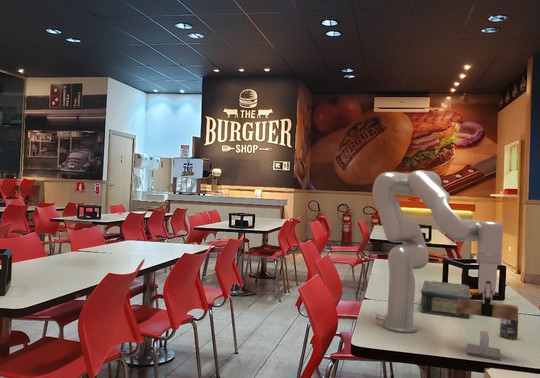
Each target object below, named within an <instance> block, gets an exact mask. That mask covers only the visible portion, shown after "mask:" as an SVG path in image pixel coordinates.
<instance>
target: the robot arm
mask: <svg viewBox="0 0 540 378" xmlns="http://www.w3.org/2000/svg"><path fill="white" fill-rule="evenodd" d="M394 195H405V196H410V195H411V196H412V195H415V196H417V198H418V199H419V200H421V202H422V203H424V205H425V206H426V207H427V208H428V209H429V210H430V212H431V215H432V218H433V220H434V222H435V224H436V225H437V226H438V227H439V228H440V230H441V231H443V232H444V234H446V236H448V238H451V240H453V241H455V242H476V244H477V245H476V260H475V261H476V263H478V264H479V267H478V284H477V285H478V286H477V287H478V289H477V291H478V294H480V295H481V294H482V298H481V299H482V300H481V301H483V303H482V310H481V315H482V316H481V317H486V316H487V318H493V317H492V308H493V304H492V303H493V296H495V295H496V290H497V289H496V286H497V279H498V266H502V261H503V259H502V258H503V257H502V256H503V239H504V235H503V234H504V226H503V224H502V222H499V221H488V220H483V221H482V220H478V219H474V218H473V219H472V218H469V219H468V218H461V217H460V216H459V215H458V214H457V213H456V212H455V211H454V210H453V209H452V208H451V207H450V205H449V202H450V199H451V195H450V193H449V192H447V190H445V188H443V187H442V180H441V177H440V176H439V174H437V173H436V172H434V171H431V170H430V171H429V170H422V169H418V170H414V171H412V172H410V173H403V172H397V171H385V172H382V173H380V174H379V175H378V176H377V177H376V178H375V180H374V183H373V185H372V197H373V200H374V203H375V205H376V207H377V211H378V214H379V215H378V216H379V219H380V222H381V226H382V229H383V233H384V235H385V238H386V239H387V241H389V242H391V243H402V244H398V245H395V246H393V248H391V249H390V251H389V252H388V255H387V263H388V270H389V271H388V274H389V276H388V277H389V280H388V295H387V296H388V297H387V313H386V314H385V313H384V314H380V313H375V319H376V320H378V321H383V322H382V327H383V328H384V329H386V330H388V331H392V332H397V333H407V334H408V333H415V332H417V330H418V327H417V326H416V325H415V324H414V309H415V296H416V295H415V294H416V293H415V292H416V291H415V290H416V279H415V275H414V271H413V270H420V269H423V268H425V267H426V266H427V264H428V263H429V261H430V260H429V257H430V256H429V255H430V254H429V250H428V246H427V244H426V240H425V238H424V234H423V231H422V228H421V226H420V224H419V223H418V222H417V221H416V220H415V219H414V218H413V219H412V218H410V217H405V216H404V215H403V213H402V208H401V205H400V203H399V201H398V200H397V199H396V197H395V196H394Z"/></svg>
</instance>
